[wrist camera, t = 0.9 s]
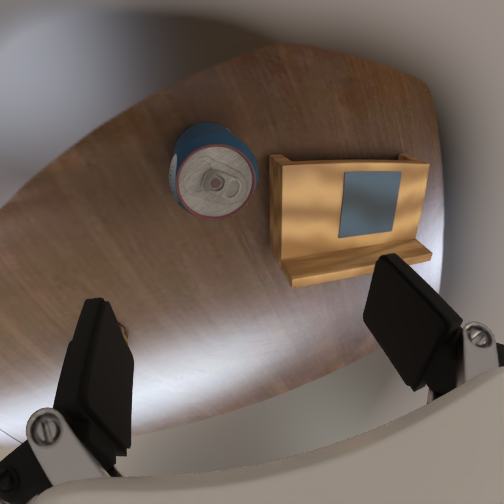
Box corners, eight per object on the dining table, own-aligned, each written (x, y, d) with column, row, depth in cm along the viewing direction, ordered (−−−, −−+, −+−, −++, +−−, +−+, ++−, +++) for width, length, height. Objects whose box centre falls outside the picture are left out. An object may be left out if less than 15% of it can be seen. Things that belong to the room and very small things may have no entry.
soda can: (164, 169, 30) (154, 211, 20) (189, 111, 28) (189, 121, 18) (222, 190, 33) (240, 239, 23) (247, 135, 30) (280, 158, 20)
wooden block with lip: (268, 154, 32) (295, 177, 25) (406, 154, 35) (451, 174, 28) (269, 246, 38) (291, 288, 31) (394, 229, 42) (430, 260, 34)
